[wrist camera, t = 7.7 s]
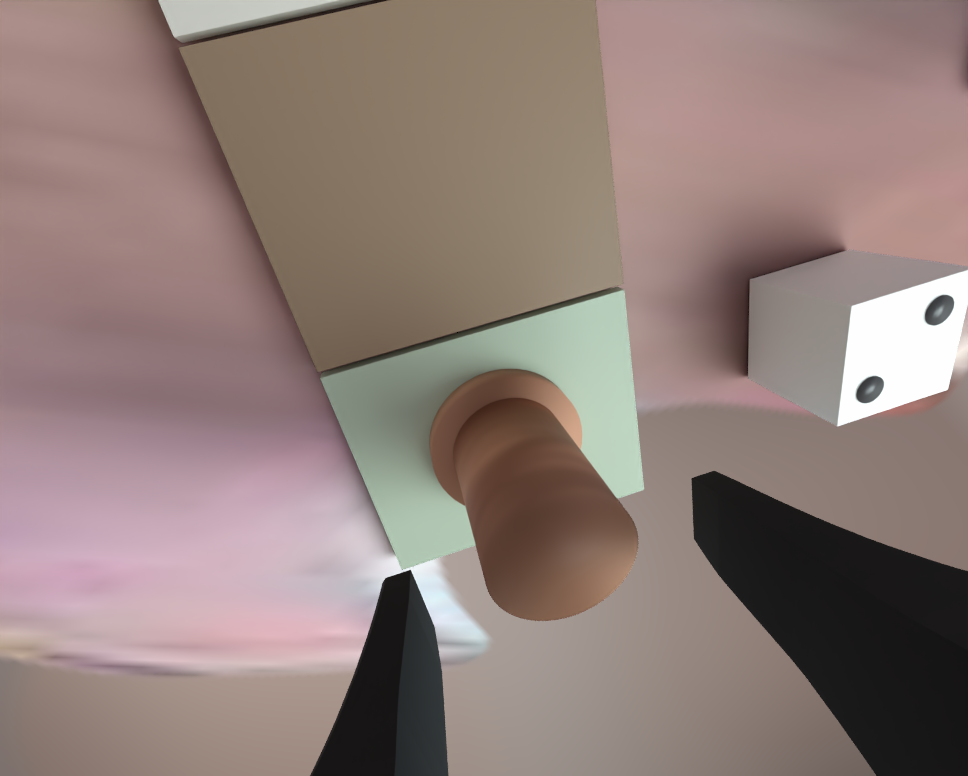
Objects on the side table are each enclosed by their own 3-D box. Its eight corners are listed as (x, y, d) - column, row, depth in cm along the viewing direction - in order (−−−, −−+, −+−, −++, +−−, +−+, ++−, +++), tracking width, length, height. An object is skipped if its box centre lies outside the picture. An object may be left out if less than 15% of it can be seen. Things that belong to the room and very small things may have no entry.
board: (518, -651, 8) (526, -699, 8) (637, 482, 19) (644, 489, 19) (-84, -587, 7) (-114, -636, 7) (401, 560, 18) (402, 570, 18)
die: (850, 249, 17) (977, 267, 13) (838, 349, 19) (949, 390, 15) (749, 279, 17) (853, 306, 13) (748, 378, 18) (838, 427, 15)
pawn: (561, 349, 16) (657, 438, 10) (582, 473, 18) (670, 600, 12) (410, 395, 15) (426, 512, 10) (451, 516, 17) (483, 666, 12)
